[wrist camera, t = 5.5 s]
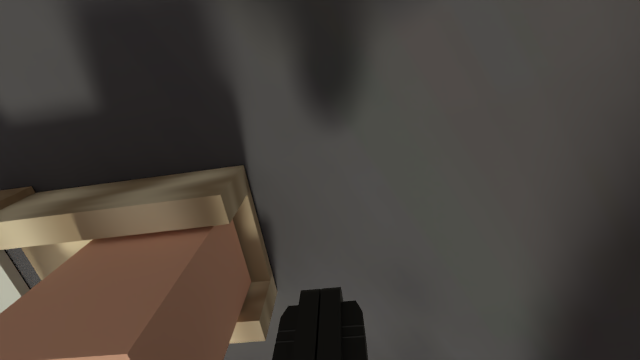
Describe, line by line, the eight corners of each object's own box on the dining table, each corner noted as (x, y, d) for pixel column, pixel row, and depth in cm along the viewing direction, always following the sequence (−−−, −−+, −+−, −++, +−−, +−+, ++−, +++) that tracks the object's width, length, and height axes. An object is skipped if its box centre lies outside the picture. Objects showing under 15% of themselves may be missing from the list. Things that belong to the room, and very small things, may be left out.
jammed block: (228, 204, 16) (126, 353, 8) (251, 281, 18) (186, 461, 10) (120, 217, 17) (-68, 367, 9) (153, 290, 19) (23, 466, 11)
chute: (241, 157, 16) (203, 203, 12) (278, 296, 20) (260, 373, 15) (-1, 190, 18) (-120, 242, 13) (74, 314, 21) (1, 389, 16)
